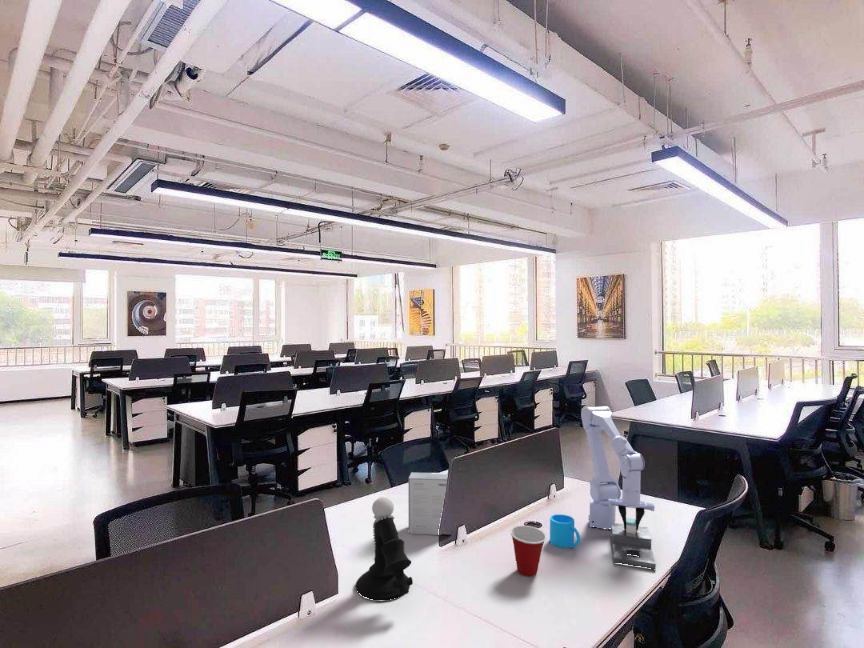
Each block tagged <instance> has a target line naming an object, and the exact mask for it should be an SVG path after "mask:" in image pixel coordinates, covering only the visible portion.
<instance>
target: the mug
mask: <svg viewBox="0 0 864 648" xmlns="http://www.w3.org/2000/svg"><path fill="white" fill-rule="evenodd" d="M575 537H576V541H575ZM550 542H551V543H552V544H553V545H552V544H551V543H550ZM549 543H550V544H551V545H552V546H554V545H556V546H555V547H557V546H559V547H558V548H561V547H569V548H571V547H570V546H572V547H577V546H579V544H580V543H581V535H580V532H579V530H578V529H577V528H576V526H575V519H574V517H572V516H570V515H566V514H563V513H562V514H561V513H560V514H557V513H556V514H552V515H550V516H549Z"/></svg>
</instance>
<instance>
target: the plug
mask: <svg viewBox="0 0 864 648" xmlns="http://www.w3.org/2000/svg"><path fill="white" fill-rule="evenodd" d="M626 533H631V534H636V518H632V517H626Z"/></svg>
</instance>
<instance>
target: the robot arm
mask: <svg viewBox="0 0 864 648" xmlns="http://www.w3.org/2000/svg"><path fill="white" fill-rule="evenodd" d="M580 415H581V416H580V417H581V422H582V427H583V429H584V430H585V432H586V437H587V442H588V448H589V451H590V457H591V462H592V466H593V470H594V477H592V479H591V480H590V481H589V486H590V487H589V488H590V490H589V492H590V494H589V495H590V497H591V499H589V514H588V520H589V526H590V527H589V528H591V527H593V526H594V527H597V528H596V529H598V528H606V529H609V528H611V529H612V523H615V522H616V507H617V509H618V512H619V513H620V514H619V515H620V516H621V519H622V522H623V523H622V524H624V529H626V518H627V508H631V509H635V521H636V531H638V527H639V526H640V523H641V521H642V519H643V517H644V515H645V512H646V511H645V510H648V511H651V512H655V504H654V503H652V502H646V501H642V500H641V480H642V479H641V477H642V475H641V474H642V473H641V471H644V469H645V463H646V461H645V459H644V456H643V455H642V454H641V453H639V452H637V451H635V450H634V449H633V447H632V446H631V444H630V443H629V441H628V439H627V438H626V437H625V436H622V435H621V434H620V433H619V430H618V428H617V426H616V425H615V423H614V421H613V412H612V411H611V409H610V407H609V406H606V405H604V406H584V408H582V411H581V414H580ZM602 431H604V432H605V434H606V435H607V436H608V437H609V439H610V440H611V443H610V446H611V447H612V449H613V451H614V452H615V454H616V455H617V457H618V464H619V468H620V475H621V476H622V487H621V488H622V490H621V488H620V485H619V484H618V483H619V482H618V480H617V478H616V477H614V476H612V475H611V474H610V471H609V466H608V461H607V457H606V451H605V448H604V447H605V446H604V442H603V438H602V434H601V432H602ZM621 497H622V498H621ZM606 529H605V530H606Z"/></svg>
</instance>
